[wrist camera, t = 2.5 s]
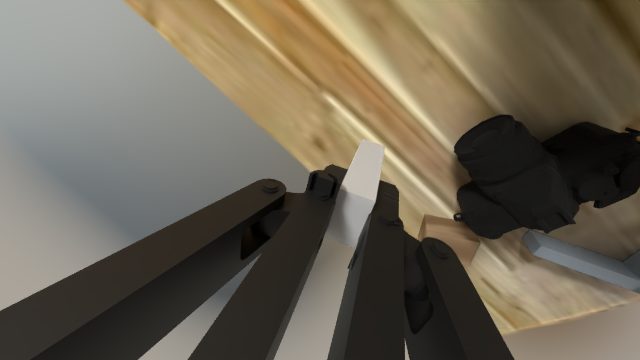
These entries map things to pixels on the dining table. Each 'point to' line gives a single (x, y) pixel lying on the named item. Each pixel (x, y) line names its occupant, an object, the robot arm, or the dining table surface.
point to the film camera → (541, 174)
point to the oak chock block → (451, 236)
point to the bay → (586, 260)
